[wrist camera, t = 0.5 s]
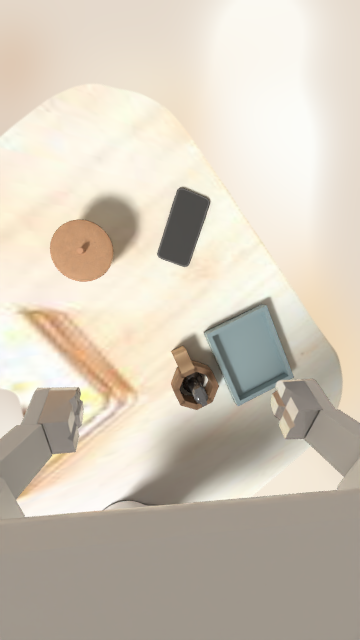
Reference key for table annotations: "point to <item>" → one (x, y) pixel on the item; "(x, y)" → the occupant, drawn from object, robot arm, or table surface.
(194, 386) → the stake
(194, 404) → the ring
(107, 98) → the table surface
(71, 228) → the lidded jar
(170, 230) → the smartphone
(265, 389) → the tray
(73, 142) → the table surface
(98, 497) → the table surface
